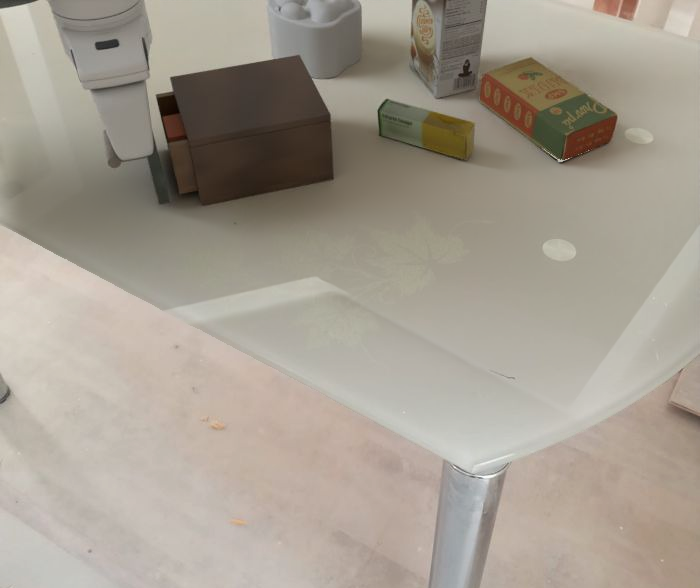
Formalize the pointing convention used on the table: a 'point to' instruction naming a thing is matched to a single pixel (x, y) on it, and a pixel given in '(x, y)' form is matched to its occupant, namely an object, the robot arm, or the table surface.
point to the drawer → (176, 149)
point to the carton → (547, 108)
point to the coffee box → (447, 44)
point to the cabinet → (254, 128)
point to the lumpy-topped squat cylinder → (317, 33)
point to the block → (174, 128)
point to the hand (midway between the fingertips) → (137, 146)
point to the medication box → (426, 129)
